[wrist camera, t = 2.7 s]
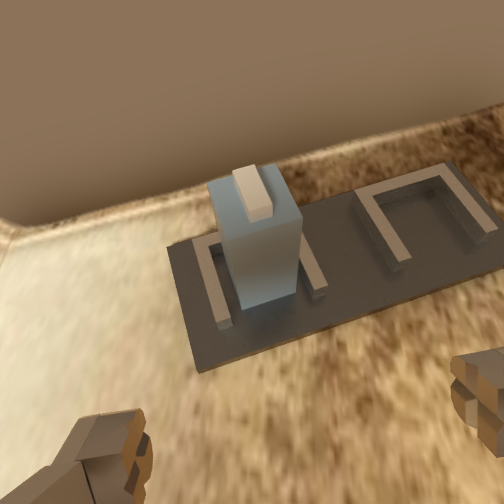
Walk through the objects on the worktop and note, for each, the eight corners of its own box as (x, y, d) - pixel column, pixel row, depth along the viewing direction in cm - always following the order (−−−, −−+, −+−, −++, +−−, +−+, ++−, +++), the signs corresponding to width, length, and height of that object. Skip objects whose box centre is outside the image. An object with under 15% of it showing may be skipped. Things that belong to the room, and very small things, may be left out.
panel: (447, 167, 32) (458, 146, 30) (525, 260, 27) (545, 243, 25) (168, 252, 30) (160, 235, 28) (199, 373, 25) (192, 364, 23)
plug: (276, 247, 28) (275, 149, 20) (295, 292, 26) (304, 205, 18) (226, 263, 28) (203, 169, 19) (241, 310, 26) (224, 229, 17)
